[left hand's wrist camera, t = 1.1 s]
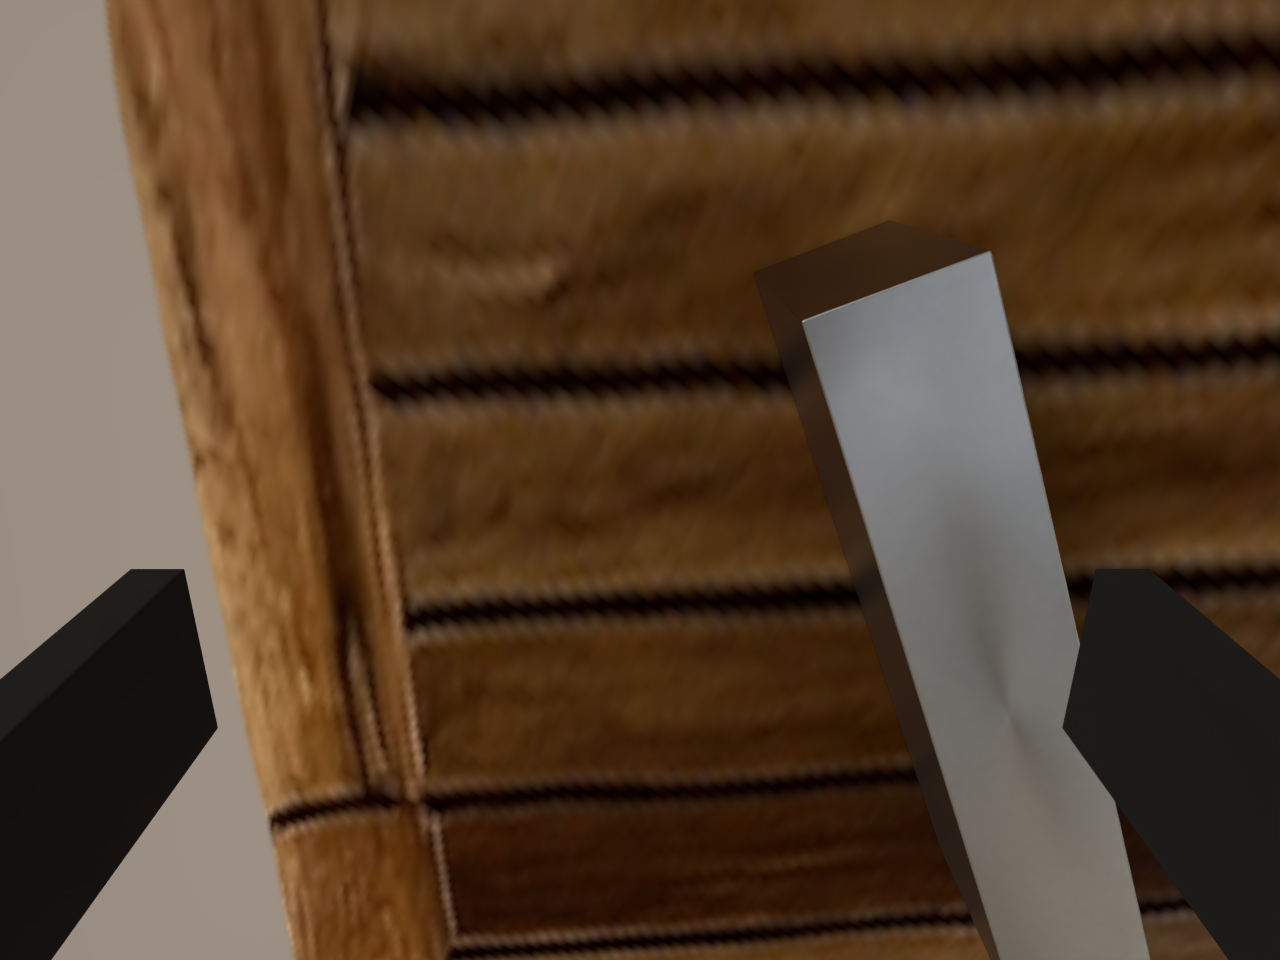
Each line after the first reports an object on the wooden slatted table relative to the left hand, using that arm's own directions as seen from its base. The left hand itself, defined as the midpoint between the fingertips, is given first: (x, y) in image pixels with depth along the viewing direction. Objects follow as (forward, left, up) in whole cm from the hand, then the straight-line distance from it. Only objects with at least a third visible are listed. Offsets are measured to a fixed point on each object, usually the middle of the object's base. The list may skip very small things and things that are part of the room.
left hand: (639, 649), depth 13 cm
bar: (-10, +9, -17) cm, 22 cm away
